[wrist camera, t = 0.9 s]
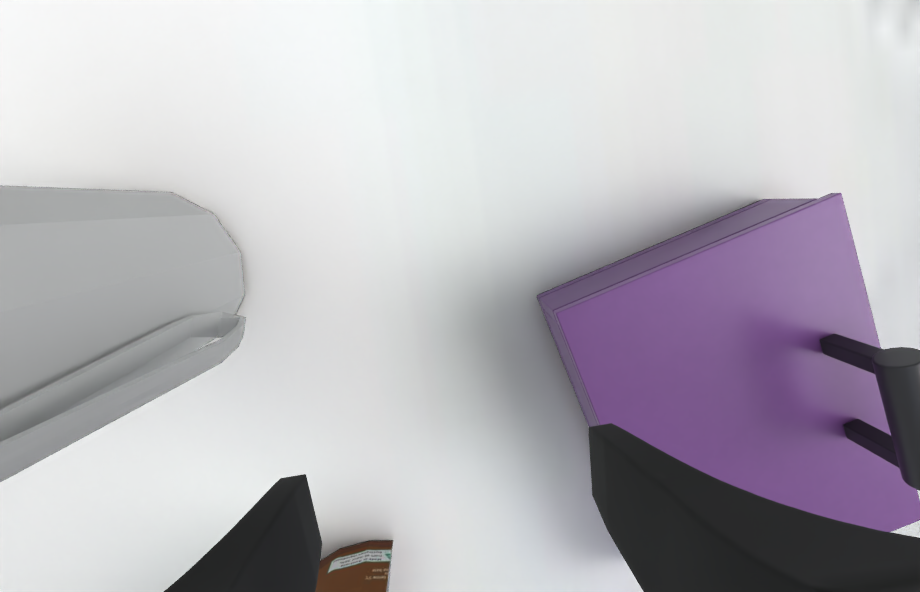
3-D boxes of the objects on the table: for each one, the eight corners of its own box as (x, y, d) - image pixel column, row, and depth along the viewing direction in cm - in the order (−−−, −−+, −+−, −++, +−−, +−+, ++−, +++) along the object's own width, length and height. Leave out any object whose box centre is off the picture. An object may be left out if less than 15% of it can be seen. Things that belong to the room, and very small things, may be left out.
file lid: (831, 192, 19) (946, 189, 15) (913, 511, 22) (1029, 586, 17) (552, 310, 19) (585, 341, 15) (670, 609, 22) (726, 705, 18)
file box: (763, 198, 22) (818, 197, 19) (843, 475, 25) (902, 515, 22) (535, 295, 22) (552, 310, 19) (641, 557, 25) (670, 608, 22)
